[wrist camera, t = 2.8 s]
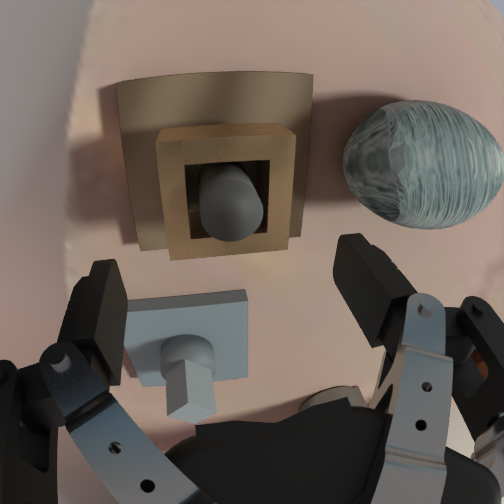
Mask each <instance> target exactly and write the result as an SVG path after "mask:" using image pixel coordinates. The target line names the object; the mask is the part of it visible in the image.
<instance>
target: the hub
mask: <svg viewBox="0 0 504 504" xmlns="http://www.w3.org/2000/svg"><path fill="white" fill-rule="evenodd" d="M124 347H125V349H126V352H127V354H128V356H129V358H130V361H131V363H132V365H133V367H134V369H135V371H136V374H137V376H138V378H139V380H140V382H141V384H142V386H143V387H148V386H166V397H167V416H169V417H172V418H176V419H179V420H182V421H186V422H189V423H193V424H196V423H198V422H200V421H202V420H203V419H205V418H207V417H209V416H211V415H212V414H214V413H216V412H217V410H216V403H215V396H214V388H213V381H222V380H230V379H238V378H246V377H248V298H247V294H246V290H245V289H244V290H235V291H226V292H216V293H206V294H196V295H185V296H175V297H163V298H152V299H139V300H128V312H127V320H126V328H125V337H124Z"/></svg>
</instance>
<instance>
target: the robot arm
mask: <svg viewBox="0 0 504 504" xmlns="http://www.w3.org/2000/svg"><path fill="white" fill-rule="evenodd" d="M333 278H334V282H335V284H336V286H337V288H338V289H339V291H340V293H341V295H342V296H343V298H344V300H345V301H346V303H347V305H348V307H349V308H350V310H351V312H352V314H353V315H354V317H355V319H356V321H357V322H358V324H359V326H360V328H361V329H362V331H363V333H364V335H365V337H366V338H367V340H368V342H369V344H370V346H371V347H372V348H374V347H378V346H382V345H384V347H385V349H386V350H385V352H384V354H383V358H382V362H381V367H380V371H379V375H378V379H377V383H376V387H375V390H374V394H373V397H372V400H371V402H370V404H369V406H368V407H367V404H366V402H365V400H364V398H363V396H362V393H361V391H360V389H359V387H358V386H357V387H353V388H352V387H337V388H332V389H329V390H326V391H323V392H321V393H319V394H317V395H315V396H313V397H311V398H310V399H308V400H307V401H306V402H305V403H304V404H303V405H302V406H301V408H300V412H299V413H297V414H295V415H293V416H291V417H289V418H287V419H284V420H282V421H280V422H276V423H265V422H246V421H228V422H220V423H212V424H203V425H195V428H196V435H194V436H192V437H189V438H187V439H185V440H183V441H181V442H179V443H178V444H176V445H174V446H173V447H172V448H170V449H169V450H168V451H167V452H166V453H165V454H163V453H162V452H161V451H160V450H159V449H158V448H157V447H156V446H155V445H154V443H153V442H152V441H151V440H150V439H149V438H148V437H147V436H146V435H145V434H144V432H143V431H142V430H141V429H140V428H139V427H138V426H137V424H136V423H135V422H134V421H133V420H132V419H131V417H130V416H129V415H128V414H127V413H126V411H125V410H124V409H123V408H122V406H121V405H120V404H119V403H118V401H117V400H116V399H115V398H114V396H113V395H112V394H111V393H109V388H110V386H117V385H120V383H121V369H122V357H123V347H124V337H125V328H126V320H127V312H128V300H127V294H126V291H125V288H124V284H123V281H122V278H121V275H120V271H119V268H118V265H117V262H116V260H115V259H107V260H99V261H94V262H93V265H92V268H91V271H90V274H89V276H85V277H82V278H81V279H80V280H79V281H78V283H77V284H76V285H75V286H74V288H73V291H72V294H71V297H70V300H69V303H68V306H67V310H66V313H65V316H64V319H63V323H62V326H61V329H60V333H59V336H58V340H57V343H54V344H52V345H50V346H49V347H48V348H47V349H46V350H45V351H44V352H43V354H42V355H41V357H40V360H39V363H36V364H33V365H30V366H27V367H24V368H21V369H17V368H16V366H15V365H14V364H13V363H12V362H11V361H8V360H0V504H58V494H57V442H58V427H61V426H64V425H65V426H66V429H67V431H68V432H69V434H70V436H71V437H72V439H73V440H74V442H75V443H76V445H77V447H78V448H79V450H80V451H81V453H82V454H83V456H84V457H85V459H86V460H87V462H88V463H89V465H90V466H91V467H92V469H93V470H94V472H95V473H96V474H97V476H98V477H99V478H100V480H101V481H102V482H103V483H104V485H105V486H106V488H107V489H108V490H109V491H110V493H111V494H112V495H113V496H114V498H115V499H116V500H117V501H118V502H119V504H501V498H502V497H503V496H504V323H503V322H502V321H501V319H500V318H499V317H498V315H497V314H496V313H495V311H494V310H493V309H492V307H491V306H490V305H489V304H488V303H487V302H486V301H484V300H483V299H481V298H479V297H475V296H469V297H466V298H465V299H464V300H463V302H462V304H461V306H460V308H455V307H444V306H443V305H442V303H441V302H440V301H439V300H438V299H436V298H435V297H433V296H431V295H429V294H425V293H418V292H417V291H416V290H415V289H414V287H413V286H412V285H411V284H410V282H409V281H408V280H407V279H406V277H405V276H404V275H403V274H402V272H401V271H400V270H398V269H397V266H396V265H395V264H394V263H393V262H392V260H391V259H390V258H389V257H388V256H387V254H386V253H385V252H384V251H382V250H381V249H379V248H378V247H376V246H374V245H370V243H369V242H368V241H367V240H366V239H365V237H364V236H363V235H362V234H360V233H355V234H345V235H341V236H340V237H339V239H338V244H337V250H336V255H335V260H334V266H333ZM475 348H476V349H477V351H478V352H479V354H480V355H481V357H482V359H483V360H484V362H485V363H486V365H487V368H488V376H487V379H486V380H484V378H483V376H482V374H481V373H480V371H479V369H478V368H477V366H476V364H475V363H474V361H473V359H472V358H471V356H470V355H471V354H472V352H473V351H474V349H475ZM451 396H452V397H453V399H454V401H455V403H456V405H457V406H458V409H459V411H460V413H461V415H462V417H463V419H464V421H465V423H466V425H467V427H468V429H469V431H470V433H471V436H472V438H473V440H474V442H475V446H474V452H473V453H472V455H471V459H470V458H468V457H466V456H464V455H462V454H460V453H458V452H456V451H454V450H452V449H450V448H448V447H446V440H447V433H448V425H449V417H450V407H451Z"/></svg>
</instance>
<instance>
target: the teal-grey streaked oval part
mask: <svg viewBox="0 0 504 504" xmlns="http://www.w3.org/2000/svg"><path fill="white" fill-rule="evenodd" d="M343 173H344V177H345V180H346V183H347V185H348V187H349V189H350V191H351V193H352V194H353V195H354V196H355V197H356V198H357V200H358V201H360V202H361V203H362V204H363V205H364V206H365V207H367V208H368V209H370V210H371V211H372V212H374V213H375V214H377V215H378V216H380V217H382V218H384V219H386V220H388V221H390V222H392V223H395V224H398V225H401V226H405V227H410V228H419V229H442V228H447V227H451V226H454V225H457V224H460V223H463V222H465V221H467V220H469V219H470V218H472V217H474V216H475V215H477V214H479V213H480V212H481V211H483V210H484V209H485V208H486V207H487V206H488V205H489V204H490V203H491V201H492V200H493V199H494V197H495V196H496V194H497V193H498V191H499V189H500V188H501V186H502V183H503V180H504V155H503V151H502V149H501V147H500V146H499V144H498V142H497V141H496V139H495V138H494V137H493V136H492V134H491V133H490V132H489V131H488V130H487V128H486V127H484V126H483V125H482V124H481V123H480V122H478V121H477V120H475V119H474V118H472V117H471V116H469V115H468V114H466V113H464V112H462V111H460V110H458V109H455V108H453V107H450V106H447V105H444V104H440V103H436V102H430V101H420V100H411V101H400V102H394V103H390V104H387V105H385V106H383V107H381V108H379V109H377V110H375V111H374V112H372V113H371V114H369V115H368V116H367V117H366V118H365V119H364V120H363V121H362V122H361V123H360V124H359V125H358V127H357V128H356V129H355V131H354V132H353V133H352V135H351V136H350V138H349V140H348V142H347V144H346V146H345V148H344V153H343Z"/></svg>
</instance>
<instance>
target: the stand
mask: <svg viewBox="0 0 504 504" xmlns="http://www.w3.org/2000/svg"><path fill="white" fill-rule="evenodd" d="M116 84H117V97H118V109H119V119H120V129H121V138H122V146H123V154H124V161H125V168H126V175H127V181H128V188H129V194H130V200H131V205H132V211H133V216H134V222H135V227H136V232H137V237H138V242H139V247H140V251H148V250H159V249H169V248H168V241H167V235H166V228H165V221H164V214H163V206H162V198H161V190H160V182H159V173H158V164H157V154H156V144H155V142H156V140H157V138H158V135H159V133H160V130H161V129H166V128H176V127H187V126H200V125H215V124H236V123H280V124H282V125H283V126H284V127H286V128H287V129H288V130H290V131H291V132H292V133H294V134H295V135H296V146H295V161H294V176H293V190H292V203H291V215H290V227H289V238H290V237H300V236H301V227H302V217H303V208H304V197H305V187H306V176H307V164H308V152H309V139H310V125H311V110H312V93H313V75H312V74H305V73H290V72H264V71H230V72H204V73H188V74H176V75H166V76H157V77H149V78H141V79H134V80H127V81H121V82H118V83H116ZM186 174H187V187H188V199H189V210H190V213H193V212H200V215H201V222H202V225H203V227H204V229H205V230H206V232H207V233H208V234H209V235H211V236H212V237H213V238H215V239H217V240H220V241H225V242H234V241H239V240H242V239H245V238H247V237H248V236H250V235H251V234H253V233H254V232H255V231H256V230H257V228H258V227H259V225H260V224H261V221H262V218H263V206H262V203H261V201H260V199H259V196H258V194H257V160H252V161H232V162H217V163H203V164H191V165H186Z"/></svg>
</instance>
